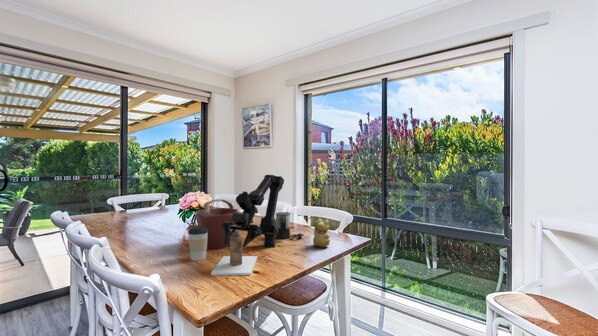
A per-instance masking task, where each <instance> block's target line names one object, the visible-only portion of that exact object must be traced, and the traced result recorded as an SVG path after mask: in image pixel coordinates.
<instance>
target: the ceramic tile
mask: <svg viewBox="0 0 598 336" xmlns="http://www.w3.org/2000/svg"><path fill="white" fill-rule="evenodd" d="M257 260H258V256H257V255H247V256H246V255H242V264H241V265H239V266H231V265H230V255H228V256H226V255H223V256H222V258H220V260H219V262H218V263H217V264H216V265H215V267H214V268H213V269H212V270H211V272H210V276H251V275H252V273H253V271H254V268H255V265H256V262H257Z"/></svg>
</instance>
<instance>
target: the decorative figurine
mask: <svg viewBox="0 0 598 336" xmlns="http://www.w3.org/2000/svg"><path fill="white" fill-rule="evenodd" d="M329 223H330V221H329V220H328V219H325V220H324V221H323V220H322V218H318V220H315V223H314V229H313V238H312V242H313V243H312V244H313V245H314V247H315V246H316V247H315V248H319V247H320V249H324V248H326V246H327V247H328V246H330V242H331V239H330V234H329V233H328V231H329V229H330V226H329ZM323 247H324V248H323Z"/></svg>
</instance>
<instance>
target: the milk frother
mask: <svg viewBox="0 0 598 336" xmlns="http://www.w3.org/2000/svg"><path fill="white" fill-rule="evenodd" d="M291 214H292V213H291V212H288V211H287V212H285V211H280V212H275V221H276V227H277V228H278V230H279V232H278V235H276V236H275V239H278V240H287V239H290V238H293V237H294V238H296V237H297V238H299V237H301V238H302V237H304V236H305V235H304V233H300V232H299V233H297V234H292V235H291Z"/></svg>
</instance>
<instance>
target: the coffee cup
mask: <svg viewBox="0 0 598 336" xmlns="http://www.w3.org/2000/svg"><path fill="white" fill-rule="evenodd" d="M187 234H188V249H189V250H188V251H189V257H190V260H191V261H193V262H194V261H195V262H198V261H203V260H205V259H206V258H207V250H208V249H207V239H208V236H207V234H208V229H207V228H206V227H204V226H198V225H197V226H191V227H190V229H189V230H187Z"/></svg>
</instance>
